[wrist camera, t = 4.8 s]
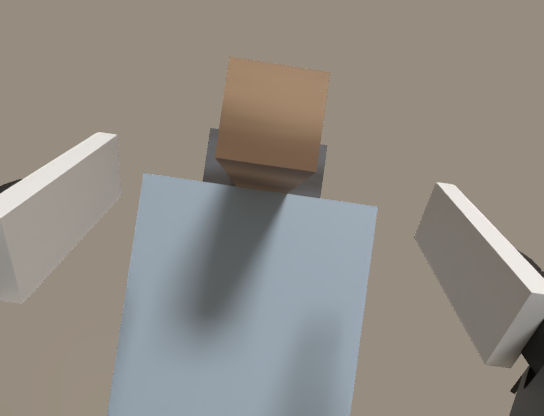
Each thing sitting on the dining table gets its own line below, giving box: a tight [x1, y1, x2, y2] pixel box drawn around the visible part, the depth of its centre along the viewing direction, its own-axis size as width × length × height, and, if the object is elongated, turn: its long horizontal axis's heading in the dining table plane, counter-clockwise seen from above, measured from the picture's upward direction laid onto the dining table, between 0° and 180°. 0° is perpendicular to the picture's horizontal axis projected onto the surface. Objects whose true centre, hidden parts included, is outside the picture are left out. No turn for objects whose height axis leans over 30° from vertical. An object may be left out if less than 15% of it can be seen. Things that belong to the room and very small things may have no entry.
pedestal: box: [107, 173, 378, 416], centre depth 31 cm, size 14×16×30 cm
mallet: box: [203, 57, 330, 198], centre depth 24 cm, size 23×10×5 cm, turn 2°
